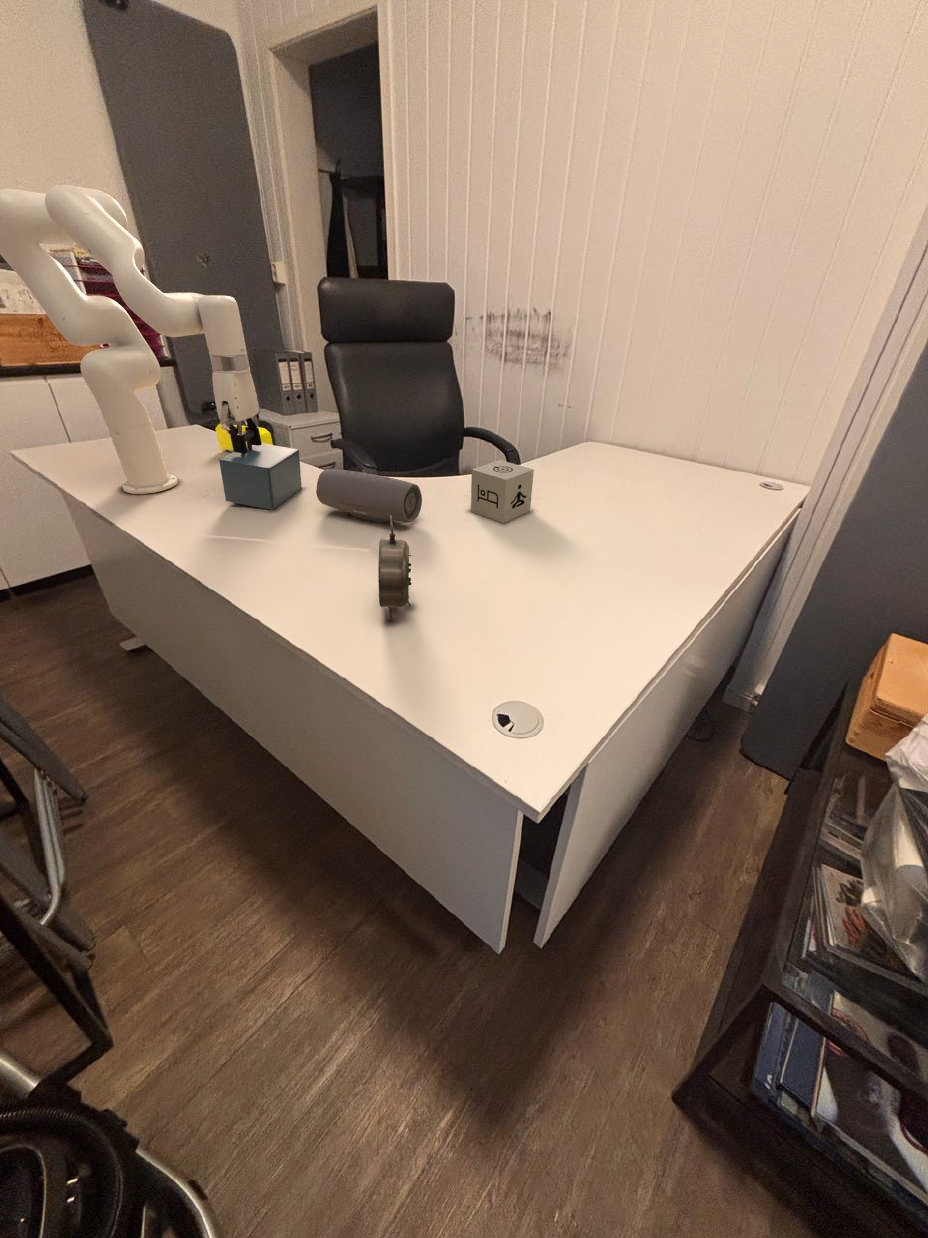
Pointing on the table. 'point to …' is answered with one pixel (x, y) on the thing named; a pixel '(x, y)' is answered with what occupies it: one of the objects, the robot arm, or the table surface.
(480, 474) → the icon cube
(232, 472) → the blue-grey square box
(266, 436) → the yellow toy chassis
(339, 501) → the bluetooth speaker
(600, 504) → the table surface
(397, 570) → the alarm clock
